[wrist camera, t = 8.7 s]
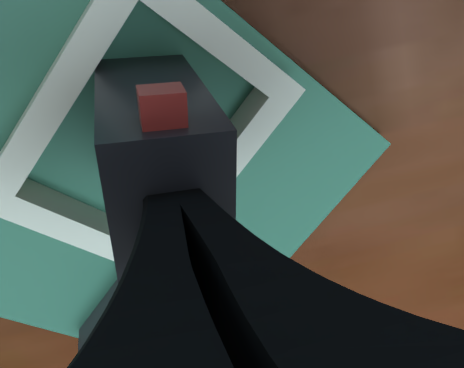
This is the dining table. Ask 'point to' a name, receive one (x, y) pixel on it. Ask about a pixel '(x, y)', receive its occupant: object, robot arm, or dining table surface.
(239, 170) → the circuit board
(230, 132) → the dark grey upright block
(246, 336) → the robot arm
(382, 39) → the dining table surface
